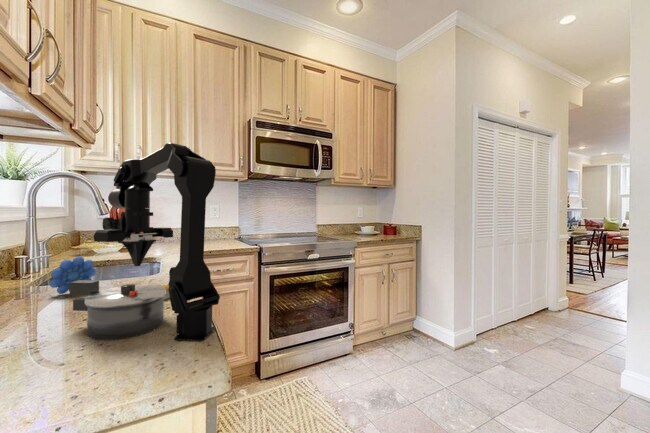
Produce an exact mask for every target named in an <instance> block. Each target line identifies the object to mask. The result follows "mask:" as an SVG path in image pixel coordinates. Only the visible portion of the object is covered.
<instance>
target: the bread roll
mask: <svg viewBox="0 0 650 433" xmlns="http://www.w3.org/2000/svg"><path fill="white" fill-rule="evenodd" d="M156 285H157V286H162V287H165V288H166V295H165V296H164V301H166V300H168V298H169V299H170V296H169V291H168V289H169V286H168V284H167V285H165V284H164V285H160V284H156ZM165 299H166V300H165Z"/></svg>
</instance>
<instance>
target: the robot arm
mask: <svg viewBox="0 0 650 433" xmlns="http://www.w3.org/2000/svg"><path fill="white" fill-rule="evenodd" d="M216 169H217V168H216V167H215V165H214V164H213V163H212V161H211V160H208V159H206V158H204V157H203V156H201V155H199V154H197V153H196V152H194V151H193V150H192V149H190V147H187V146H186V145H184V144H183V145H182V144H178V143H173V142H168V143H167V142H166V143H165V144H164V146H163V147H161V148H159V149H158V150H156V151H155V152H153V153H151V154H149V155H147V156H145V157H143V158H136V159H135V158H133V159H132V158H131V159H126V160H124V161H123V162H122V164H120V165H119V168H118V170H117V171H116V174H115V175H114V179H113V187H115V189H113V190H112V191H110V193H109V195H108V197H107V199H108V200H107V201H108V203H109V204H110V206H111V207H112V208H115V209H124V211H121V213H120V217H119V218H114V217H104V218H103V219H102V229H97V230H96V231H95V232H94V234H93V242H96V243H97V242H100V243H101V242H102V243H117V244H122V245H123V247H125V249H126V251H127V252H128V254H129V256H130V259H131V261H132V263H133V266H134V267H140V266H141V264H142V263H143V261H144V259H145V257H146V255H147V254H148V251H149V250H150V249H151V247H152V245H153V244H154V243H156V242H157V239H153V238H157V237H159V238H160V237H162V238H164V239H166V238H167V239H168V238H174V231H173V229H172V228H171V227H154V226H150V225H151V222H150V221H151V220H150V219H151V217H153V216H154V212H152V211H151V203H150V202H151V197H150V196H151V192H153V191H154V188H153V187H152V186H151V184H152V183H153V182H155V181H156V180H157V175H158V174H160V173H162V172H165V171H166V170H169V171H171V173H172V174H173V180H174V185H175V187H176V189H177V191H178V192H179V195H180V196H181V214H180V216H181V217H180V218H181V219H180V238H179V240H180V242H179V243H180V248H179V261H178V262H177V264H176V265H175V266H173V267H170V269H169V273H168V275H169V280H168V284H167V285H168V286H169V289H168V291H169V296H170V298H169V301H170V306H171V310H172V311H173V313H174V314H177V315H176V324H175V325H176V331H175V332H176V333H175V334H176V335H175V336H174V340H175V341H195V342H196V341H197V342H198V341H199V342H201V341H202V342H203V341H205V340H206V339H207V338H209V336H210V335H211V334H212V333H213V332H214V331H215V330H216V328H215V326H213V306H216V305H219V302H220V298H221V296H220V294H219V292H218V291H217V289H216V287H215V286H214V283H213V281H212V279H211V278H212V277H211V271H210V269H209V267H208V266H207V264H206V262H205V260H204V259H205V258H204V257H205V255H204V254H205V235H206V232H205V231H206V211H207V210H206V208H207V197H208V196H209V194H210V193H211V192H212V190H213V189H214V186H215V181H216V175H217V174H216V172H217V171H216ZM199 298H200V299H199ZM195 299H196V300H195ZM191 300H192V301H191ZM188 301H189V302H188Z"/></svg>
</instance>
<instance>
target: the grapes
mask: <svg viewBox="0 0 650 433" xmlns="http://www.w3.org/2000/svg"><path fill="white" fill-rule="evenodd" d="M93 266H94V260H92V259H87V260H85V259H84V257H83V256H77V257H75V258H73V260H71V259H65V260H63V261H61V262H60V264H59V268H55V269H52V271H51V272H50V277H51V278H53V279H52V280H51V281H50V282H49V287H51V288H52V289H53V288H54V289H55V288H57V289H56V293H58V294H59V295H60V294H66V293H68V292H69V293H70V282H74V281H78V280H89V281H92V277H94V276H95V275H96V274H97V270H96V268H95V267H93Z"/></svg>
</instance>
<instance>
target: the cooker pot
mask: <svg viewBox="0 0 650 433" xmlns="http://www.w3.org/2000/svg"><path fill="white" fill-rule="evenodd" d="M85 297H86V296H80V297H78V298H75V299H73V300H72V311H73V312H74V311H75V312H76V311H77V312H86V314H87V318H86V319H87V321H86V322H87V326H86V329H87V330H86V332H87V333H86V335H87V337H88V338H89V339H92V340H97V341H117V340H125V339H130V338H134V337H138V336H142V335H145V334H148V333H150V332H152V331H153V332H154V331H155V330H157V329H159V328H160V327H161V326H163V324H164V322H165V321H164V319H165V314H164V313H165V312H164V310H165V300H164V297H162V298H161V299H158V300H156V301H152V302H149V303H145V304H140V305H135V306H128V307H120V308H93V307H89V306H86V305H85Z"/></svg>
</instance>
